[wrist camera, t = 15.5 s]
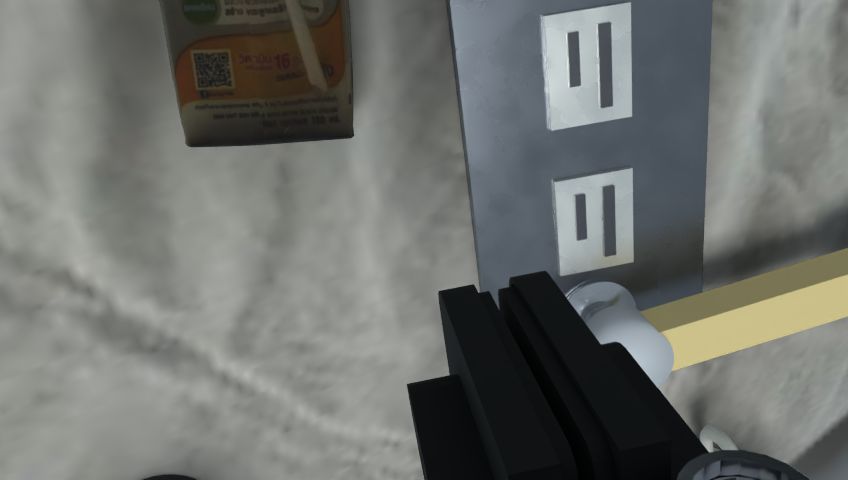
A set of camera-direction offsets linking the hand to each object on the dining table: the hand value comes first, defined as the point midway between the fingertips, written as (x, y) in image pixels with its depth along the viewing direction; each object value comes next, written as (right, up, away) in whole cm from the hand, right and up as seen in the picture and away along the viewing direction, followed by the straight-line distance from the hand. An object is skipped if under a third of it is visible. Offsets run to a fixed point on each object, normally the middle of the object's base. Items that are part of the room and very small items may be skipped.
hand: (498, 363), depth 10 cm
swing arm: (+17, -2, +29) cm, 34 cm away
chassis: (+8, +7, +28) cm, 30 cm away
